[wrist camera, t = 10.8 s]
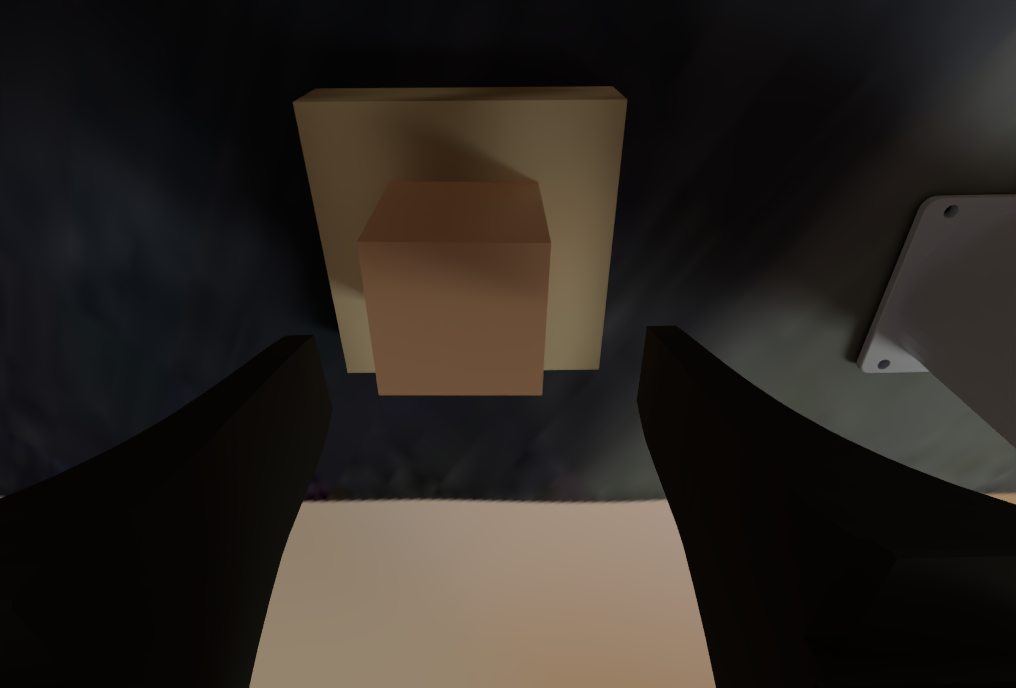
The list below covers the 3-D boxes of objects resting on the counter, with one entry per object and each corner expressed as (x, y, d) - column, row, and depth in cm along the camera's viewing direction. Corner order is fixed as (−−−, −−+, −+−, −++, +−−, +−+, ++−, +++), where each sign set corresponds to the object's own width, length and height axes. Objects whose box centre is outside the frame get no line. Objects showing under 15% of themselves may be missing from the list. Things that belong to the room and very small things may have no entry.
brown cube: (538, 182, 18) (551, 243, 14) (532, 311, 20) (541, 395, 16) (389, 181, 18) (356, 241, 14) (403, 310, 20) (378, 395, 16)
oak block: (610, 84, 19) (627, 99, 16) (588, 329, 25) (598, 369, 22) (319, 86, 19) (292, 102, 16) (363, 332, 24) (347, 372, 22)
